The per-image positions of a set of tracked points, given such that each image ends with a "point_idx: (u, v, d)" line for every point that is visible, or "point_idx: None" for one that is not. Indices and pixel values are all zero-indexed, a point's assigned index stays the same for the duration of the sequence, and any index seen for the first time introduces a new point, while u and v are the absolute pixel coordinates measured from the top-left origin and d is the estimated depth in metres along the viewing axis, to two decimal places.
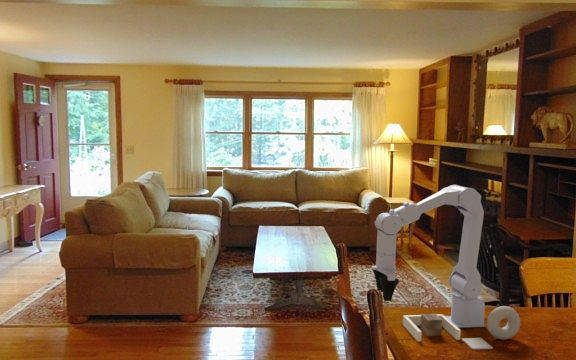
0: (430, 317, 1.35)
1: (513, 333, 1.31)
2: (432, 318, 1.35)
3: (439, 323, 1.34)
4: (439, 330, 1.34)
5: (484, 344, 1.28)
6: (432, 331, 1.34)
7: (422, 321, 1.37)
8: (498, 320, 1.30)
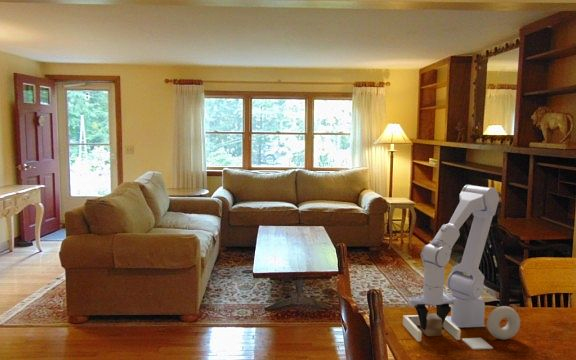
0: (430, 316, 1.35)
1: (513, 333, 1.31)
2: (432, 318, 1.35)
3: (439, 323, 1.34)
4: (439, 330, 1.34)
5: (484, 344, 1.28)
6: (432, 331, 1.34)
7: None
8: (498, 320, 1.30)
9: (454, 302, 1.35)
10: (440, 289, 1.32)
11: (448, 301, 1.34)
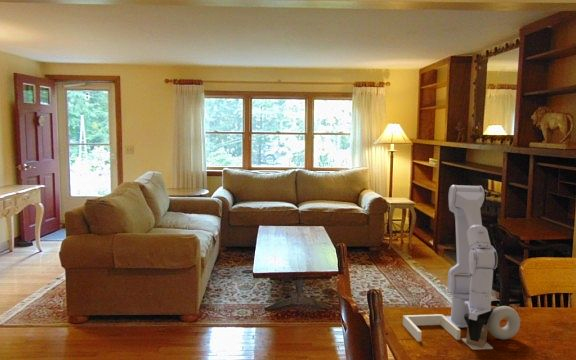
0: None
1: (513, 333, 1.31)
2: None
3: (486, 330, 1.29)
4: (486, 337, 1.29)
5: None
6: (484, 341, 1.27)
7: None
8: (498, 320, 1.30)
9: None
10: (491, 293, 1.27)
11: None
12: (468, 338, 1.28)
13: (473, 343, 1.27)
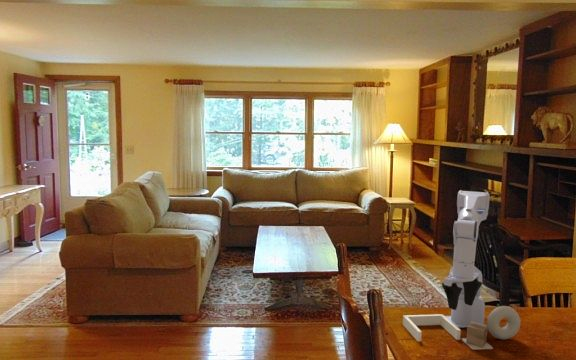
0: (477, 326, 1.28)
1: (513, 333, 1.31)
2: (481, 327, 1.28)
3: (486, 330, 1.29)
4: (486, 337, 1.29)
5: None
6: (484, 341, 1.27)
7: (470, 333, 1.28)
8: (498, 320, 1.30)
9: (478, 277, 1.34)
10: (473, 264, 1.29)
11: (476, 276, 1.32)
12: (468, 338, 1.28)
13: (473, 343, 1.27)
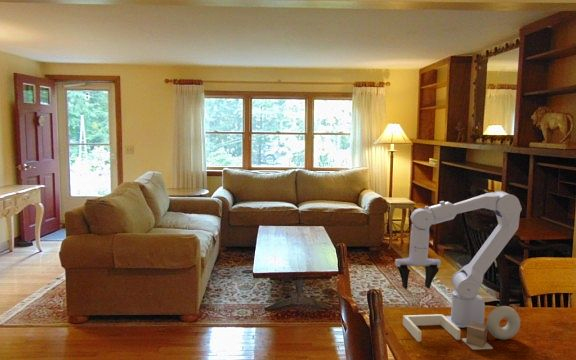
0: (477, 326, 1.28)
1: (513, 333, 1.31)
2: (481, 327, 1.28)
3: (486, 330, 1.29)
4: (486, 337, 1.29)
5: None
6: (484, 341, 1.27)
7: (470, 333, 1.28)
8: (498, 320, 1.30)
9: (438, 263, 1.44)
10: (425, 250, 1.41)
11: (432, 262, 1.43)
12: (468, 338, 1.28)
13: (473, 343, 1.27)
